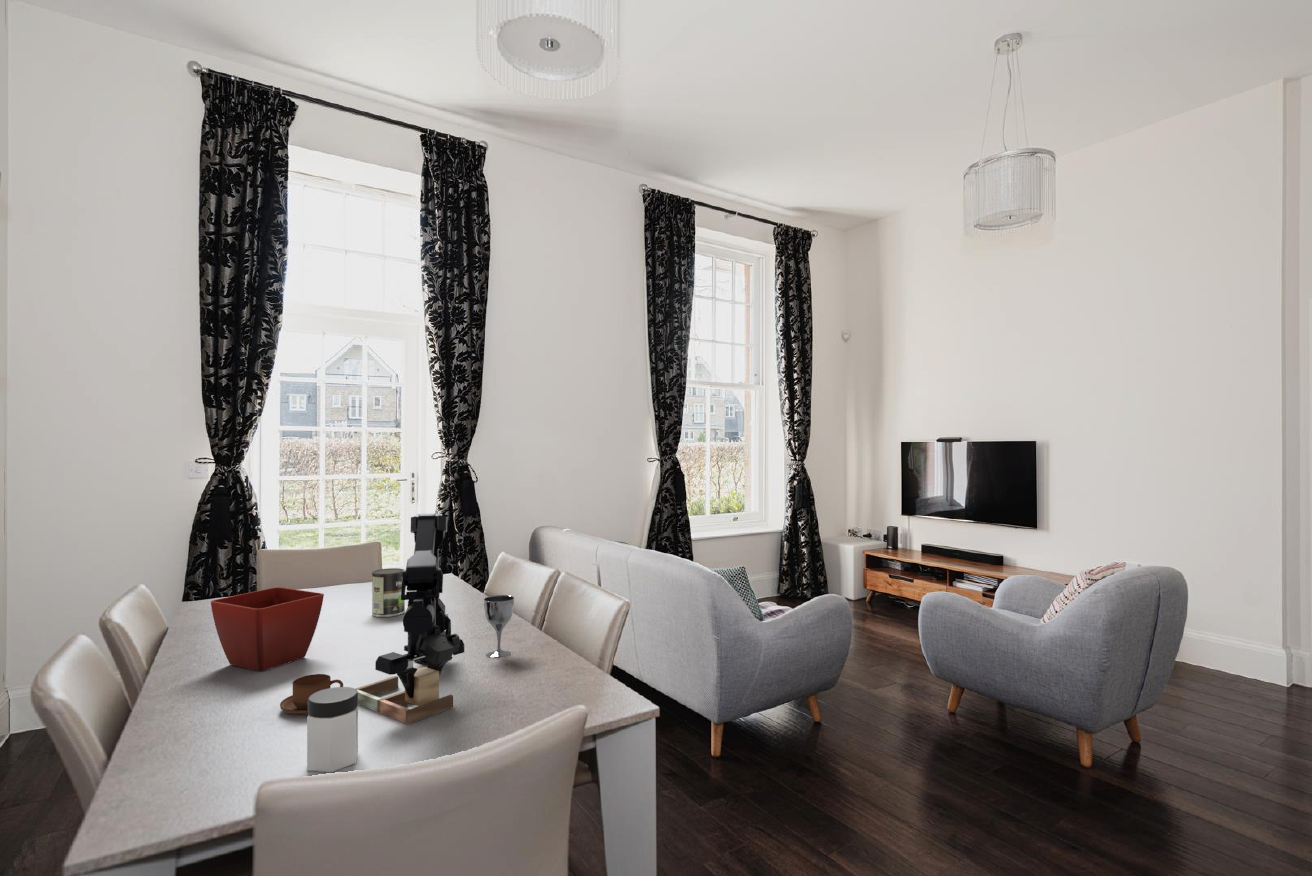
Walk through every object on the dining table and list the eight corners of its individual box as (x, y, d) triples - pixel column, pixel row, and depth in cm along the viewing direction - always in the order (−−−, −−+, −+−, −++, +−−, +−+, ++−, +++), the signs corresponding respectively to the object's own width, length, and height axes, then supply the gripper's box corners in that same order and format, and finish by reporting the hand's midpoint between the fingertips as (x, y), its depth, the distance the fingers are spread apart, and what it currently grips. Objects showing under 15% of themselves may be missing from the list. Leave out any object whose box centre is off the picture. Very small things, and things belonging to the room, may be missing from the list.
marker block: (404, 701, 147) (404, 673, 147) (424, 693, 151) (424, 666, 151) (419, 706, 144) (419, 677, 144) (439, 698, 148) (439, 671, 148)
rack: (351, 701, 150) (351, 690, 150) (395, 686, 159) (395, 675, 159) (408, 724, 138) (408, 712, 138) (453, 707, 147) (453, 695, 147)
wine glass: (519, 651, 186) (519, 596, 186) (503, 660, 179) (504, 602, 179) (494, 648, 189) (494, 594, 189) (477, 656, 181) (477, 600, 181)
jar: (347, 746, 128) (347, 682, 128) (368, 759, 123) (368, 693, 123) (297, 763, 122) (297, 696, 122) (317, 778, 116) (317, 707, 116)
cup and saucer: (326, 693, 156) (326, 666, 156) (352, 706, 148) (352, 678, 148) (270, 709, 146) (270, 681, 146) (294, 724, 139) (294, 694, 139)
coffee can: (409, 609, 232) (409, 568, 232) (397, 617, 222) (397, 573, 222) (379, 609, 232) (379, 567, 232) (366, 617, 222) (366, 573, 222)
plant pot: (326, 656, 182) (326, 592, 182) (258, 678, 165) (258, 608, 165) (277, 646, 190) (277, 586, 190) (208, 667, 173) (208, 601, 173)
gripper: (406, 638, 135) (406, 717, 135) (480, 618, 150) (480, 689, 150) (373, 629, 141) (373, 704, 141) (448, 610, 157) (448, 678, 157)
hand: (421, 694), depth 147 cm, fingers closed on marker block, 5 cm apart
